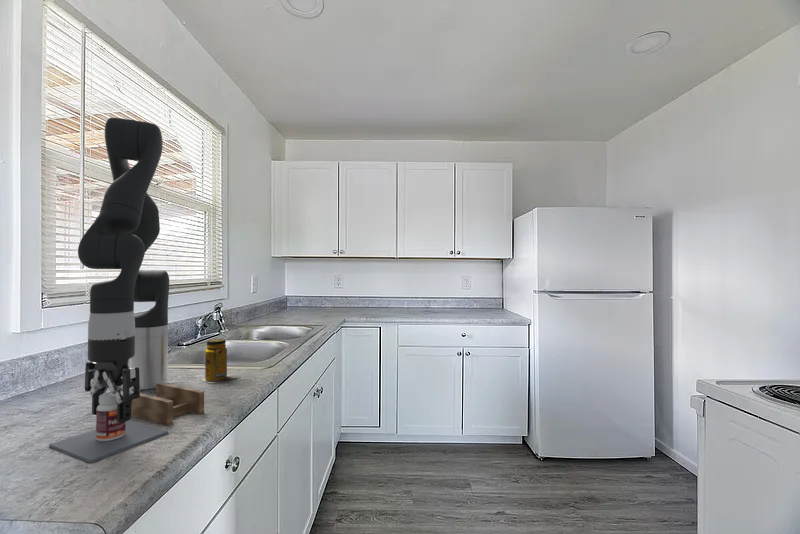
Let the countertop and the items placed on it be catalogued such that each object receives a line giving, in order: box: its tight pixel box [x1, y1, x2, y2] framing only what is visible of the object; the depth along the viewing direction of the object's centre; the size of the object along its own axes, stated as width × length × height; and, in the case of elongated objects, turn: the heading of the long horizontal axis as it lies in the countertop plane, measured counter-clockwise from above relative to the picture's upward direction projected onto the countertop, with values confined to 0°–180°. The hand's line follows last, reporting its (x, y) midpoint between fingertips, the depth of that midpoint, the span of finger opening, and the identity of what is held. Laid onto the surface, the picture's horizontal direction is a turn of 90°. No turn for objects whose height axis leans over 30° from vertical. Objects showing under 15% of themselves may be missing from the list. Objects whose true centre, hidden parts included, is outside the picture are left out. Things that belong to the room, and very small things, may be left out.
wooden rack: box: [131, 382, 205, 427], centre depth 94 cm, size 16×9×5 cm, turn 64°
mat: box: [48, 419, 169, 464], centre depth 79 cm, size 14×14×1 cm
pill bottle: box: [95, 391, 126, 441], centre depth 79 cm, size 5×5×8 cm
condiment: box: [199, 338, 238, 385], centre depth 123 cm, size 7×8×12 cm
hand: (111, 417), depth 79 cm, fingers open, 8 cm apart
